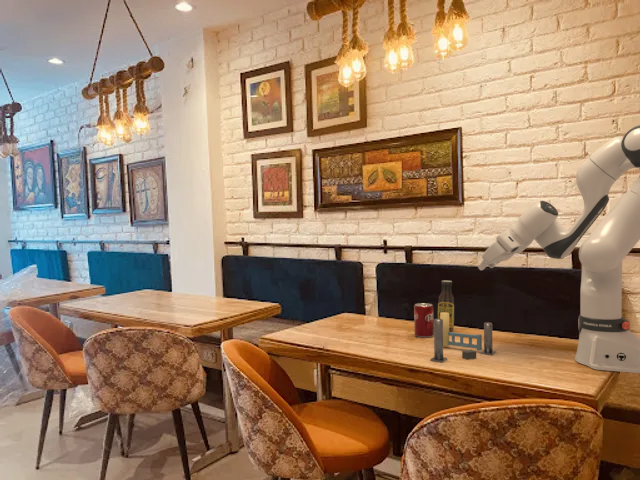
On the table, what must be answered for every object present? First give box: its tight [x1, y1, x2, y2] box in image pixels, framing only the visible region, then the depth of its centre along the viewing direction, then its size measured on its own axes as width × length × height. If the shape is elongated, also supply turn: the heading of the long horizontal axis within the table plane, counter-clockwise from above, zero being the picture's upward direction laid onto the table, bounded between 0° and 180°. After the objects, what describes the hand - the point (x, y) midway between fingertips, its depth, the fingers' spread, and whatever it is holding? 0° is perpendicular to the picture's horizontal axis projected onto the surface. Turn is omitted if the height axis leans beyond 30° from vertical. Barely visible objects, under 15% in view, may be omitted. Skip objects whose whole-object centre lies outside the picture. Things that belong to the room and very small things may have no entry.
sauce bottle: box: [437, 280, 455, 332], centre depth 203 cm, size 7×6×20 cm
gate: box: [440, 312, 483, 352], centre depth 175 cm, size 14×3×11 cm, turn 55°
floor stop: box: [461, 349, 477, 361], centre depth 165 cm, size 4×2×2 cm, turn 110°
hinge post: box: [480, 321, 497, 356], centre depth 170 cm, size 4×4×10 cm
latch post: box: [430, 318, 448, 363], centre depth 164 cm, size 4×4×13 cm
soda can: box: [413, 302, 435, 339], centre depth 196 cm, size 7×7×12 cm
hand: (484, 267), depth 180 cm, fingers open, 8 cm apart
